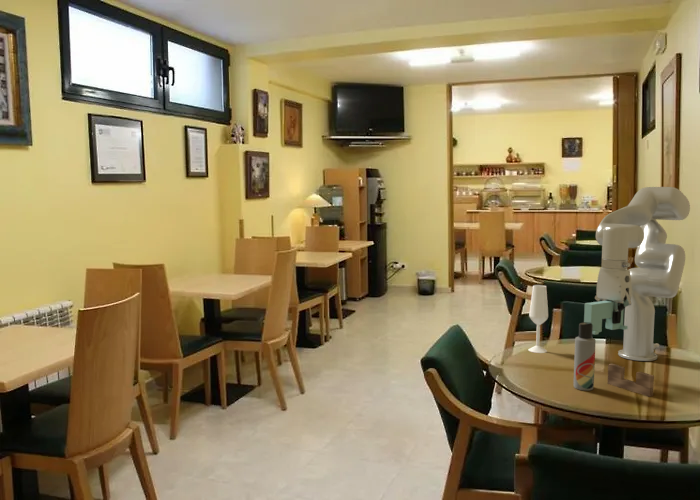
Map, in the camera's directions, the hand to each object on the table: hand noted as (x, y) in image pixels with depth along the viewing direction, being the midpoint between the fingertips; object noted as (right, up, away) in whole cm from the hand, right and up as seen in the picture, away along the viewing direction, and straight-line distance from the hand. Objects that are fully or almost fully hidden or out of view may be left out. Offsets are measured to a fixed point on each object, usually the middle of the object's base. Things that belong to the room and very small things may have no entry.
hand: (611, 321), depth 197 cm
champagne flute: (-14, -14, +31) cm, 37 cm away
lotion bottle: (-13, -19, -11) cm, 25 cm away
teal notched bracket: (-3, -2, -2) cm, 4 cm away
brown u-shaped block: (0, -19, -12) cm, 22 cm away
